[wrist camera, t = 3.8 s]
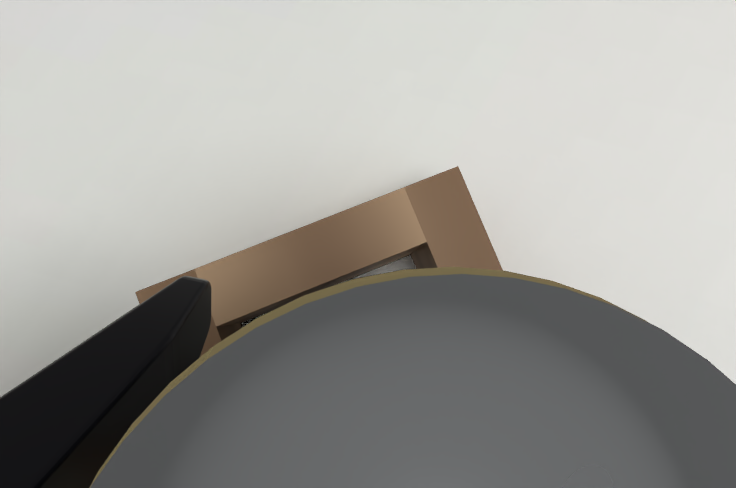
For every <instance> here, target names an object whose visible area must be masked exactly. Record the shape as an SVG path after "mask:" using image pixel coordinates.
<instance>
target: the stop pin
mask: <svg viewBox="0 0 736 488" xmlns="http://www.w3.org/2000/svg"><path fill="white" fill-rule="evenodd" d="M89 488H736V384H734V383H733V382H732V381H731V380H730V379H729V378H727V377H726V376H725V375H724V374H723V373H722V372H721V371H719V370H718V369H717V368H716V367H715V366H714V365H713V364H711V363H710V362H709V361H708V360H707V359H705V358H704V357H702V356H701V355H699V354H698V353H696V352H695V351H693V350H692V349H690V348H689V347H687V346H686V345H684V344H683V343H681V342H680V341H678V340H677V339H676V338H674V337H673V336H671V335H670V334H668V333H667V332H665V331H664V330H662V329H660V328H658V327H656V326H654V325H652V324H650V323H648V322H647V321H645V320H643V319H641V318H639V317H637V316H635V315H633V314H631V313H629V312H627V311H626V310H624V309H622V308H620V307H618V306H616V305H614V304H612V303H610V302H608V301H606V300H604V299H602V298H600V297H597V296H594V295H591V294H588V293H585V292H582V291H580V290H577V289H574V288H571V287H568V286H565V285H563V284H560V283H557V282H554V281H550V280H545V279H541V278H536V277H531V276H527V275H522V274H517V273H512V272H508V271H501V270H488V269H475V268H462V267H442V268H424V269H406V270H399V271H394V272H388V273H383V274H378V275H373V276H367V277H362V278H357V279H352V280H349V281H346V282H343V283H340V284H337V285H334V286H331V287H328V288H325V289H322V290H319V291H316V292H313V293H310V294H307V295H304V296H302V297H300V298H298V299H296V300H293V301H291V302H289V303H287V304H285V305H283V306H281V307H279V308H277V309H275V310H273V311H271V312H268V313H266V314H264V315H262V316H260V317H258V318H256V319H255V320H253V321H252V322H250V323H249V324H247V325H245V326H244V327H242V328H241V329H239V330H238V331H236V332H235V333H233V334H232V335H230V336H229V337H227V338H225V339H224V340H222V341H221V342H219V343H218V344H216V345H215V346H213V347H212V348H210V349H209V350H208V351H207V352H206V353H205V354H203V355H202V356H201V357H200V358H199V359H197V360H196V361H195V362H194V363H193V364H192V365H190V366H189V367H188V368H187V369H186V370H184V371H183V372H182V373H181V374H180V375H179V376H177V377H176V378H175V379H174V380H173V381H171V382H170V383H169V384H168V385H167V387H166V388H165V389H164V390H163V391H162V392H161V393H160V394H159V395H158V396H157V397H156V398H155V400H154V401H153V402H152V403H151V404H150V405H149V406H148V407H147V408H146V409H145V410H144V412H143V413H142V414H141V415H140V416H139V417H138V418H137V419H136V420H135V421H134V422H133V423H132V425H131V426H130V427H129V429H128V430H127V432H126V433H125V434H124V436H123V437H122V439H121V440H120V441H119V443H118V444H117V446H116V447H115V448H114V450H113V451H112V453H111V454H110V455H109V457H108V458H107V460H106V461H105V462H104V464H103V465H102V467H101V468H100V469H99V471H98V473H97V474H96V476H95V478H94V480H93V482H92V484H91V485H90V487H89Z"/></svg>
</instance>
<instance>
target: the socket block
mask: <svg viewBox="0 0 736 488" xmlns="http://www.w3.org/2000/svg"><path fill="white" fill-rule="evenodd" d="M408 255H411V257H412V259H413V261H414V264H415V266H416V269H424V268H442V267H462V268H475V269H488V270H501V271H503V270H502V268H501V265H500V263H499V261H498V258H497V256H496V254H495V251H494V249H493V247H492V244H491V242H490V240H489V237H488V235H487V233H486V230H485V228H484V226H483V223H482V221H481V219H480V216H479V214H478V212H477V209H476V207H475V205H474V202H473V200H472V198H471V195H470V193H469V191H468V188H467V186H466V184H465V181H464V179H463V177H462V174H461V172H460V170H459V167H458V166H457V167H455V168H452V169H450V170H447V171H445V172H442V173H440V174H437V175H434V176H432V177H429V178H427V179H424V180H422V181H419V182H416V183H414V184H411V185H409V186H406V187H404V188H401V189H399V190H396V191H393V192H391V193H388V194H386V195H383V196H381V197H378V198H375V199H373V200H370V201H368V202H365V203H363V204H360V205H358V206H355V207H352V208H350V209H347V210H345V211H342V212H340V213H337V214H334V215H332V216H329V217H327V218H324V219H322V220H319V221H317V222H314V223H311V224H309V225H306V226H304V227H301V228H299V229H296V230H293V231H291V232H288V233H286V234H283V235H281V236H278V237H276V238H273V239H270V240H268V241H265V242H263V243H260V244H258V245H255V246H252V247H250V248H247V249H245V250H242V251H240V252H237V253H234V254H232V255H229V256H227V257H224V258H222V259H219V260H217V261H214V262H211V263H209V264H206V265H204V266H201V267H199V268H196V269H193V270H191V271H188V272H186V273H183V274H181V275H178V276H176V277H173V278H170V279H168V280H165V281H163V282H160V283H158V284H155V285H152V286H150V287H147V288H145V289H142V290H140V291H137V292H136V295H137V298H138V301H139V303H140V304H141V303H142V302H144V301H145V300H147V299H148V298H150V297H151V296H153V295H154V294H156V293H157V292H159V291H160V290H162V289H163V288H165V287H166V286H168V285H169V284H171V283H172V282H174V281H175V280H177V279H178V278H180V277H183V276H191V277H195V278H200V279H205V280H208V281H209V282H210V284H211V323H210V328H209V332H208V335H207V337H206V340H205V343H204V346H203V349H202V352H201V354H200V357H201V356H202V355H203V354H205V353H206V352H207V351H208V350H209V349H210V348H212V347H213V346H215V345H216V344H218V343H219V342H221V341H222V340H224V339H225V338H227V337H229V336H230V335H232V334H233V333H235V332H236V331H238V330H239V329H241V328H242V327H241V324H240V323H242V322H244V321H247V320H249V319H252V318H254V317H257V316H259V315H262V314H264V313H267V312H269V311H272V310H274V309H276V308H279V307H281V306H283V305H285V304H287V303H289V302H291V301H293V300H296V299H298V298H300V297H302V296H304V295H307V294H310V293H313V292H316V291H319V290H322V289H325V288H328V287H331V286H334V285H336V284H339V283H341V282H344V281H346V280H348V279H351V278H353V277H356V276H358V275H361V274H363V273H366V272H368V271H371V270H373V269H376V268H378V267H381V266H383V265H386V264H388V263H391V262H393V261H396V260H398V259H401V258H403V257H406V256H408ZM200 357H199V358H200Z"/></svg>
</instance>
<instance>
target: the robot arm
mask: <svg viewBox="0 0 736 488" xmlns="http://www.w3.org/2000/svg"><path fill="white" fill-rule="evenodd" d="M210 323H211V284H210V282H209V281H208V280H205V279H200V278H195V277H191V276H183V277H180V278H178V279H177V280H175V281H174V282H172V283H171V284H169V285H168V286H166V287H165V288H163V289H162V290H160V291H159V292H157V293H156V294H154V295H153V296H151V297H150V298H148V299H147V300H145V301H144V302H142V303H141V304H139V305H138V306H137V307H135V308H134V309H132V310H131V311H129V312H128V313H126V314H125V315H123V316H122V317H120V318H119V319H117V320H116V321H114V322H113V323H111V324H110V325H108V326H107V327H105V328H104V329H102V330H101V331H99V332H98V333H96V334H95V335H93V336H92V337H90V338H89V339H87V340H86V341H84V342H83V343H81V344H80V345H78V346H77V347H75V348H74V349H72V350H71V351H69V352H68V353H66V354H65V355H63V356H62V357H60V358H59V359H57V360H56V361H54V362H53V363H51V364H50V365H48V366H47V367H45V368H44V369H42V370H41V371H39V372H38V373H36V374H35V375H33V376H32V377H30V378H29V379H27V380H26V381H24V382H23V383H21V384H20V385H18V386H17V387H15V388H14V389H12V390H11V391H9V392H8V393H6V394H5V395H3V396H2V397H0V488H89V487H90V485H91V484H92V482H93V480H94V478H95V476H96V474H97V473H98V471H99V469H100V468H101V467H102V465H103V464H104V462H105V461H106V460H107V458H108V457H109V455H110V454H111V453H112V451H113V450H114V448H115V447H116V446H117V444H118V443H119V441H120V440H121V439H122V437H123V436H124V434H125V433H126V432H127V430H128V429H129V427H130V426H131V425H132V423H133V422H134V421H135V420H136V419H137V418H138V417H139V416H140V415H141V414H142V413H143V412H144V410H145V409H146V408H147V407H148V406H149V405H150V404H151V403H152V402H153V401H154V400H155V398H156V397H157V396H158V395H159V394H160V393H161V392H162V391H163V390H164V389H165V388H166V387H167V385H168V384H169V383H170V382H171V381H173V380H174V379H175V378H176V377H177V376H179V375H180V374H181V373H182V372H183V371H184V370H186V369H187V368H188V367H189V366H190V365H192V364H193V363H194V362H195V361H196V360H197V359H199V357H200V354H201V352H202V349H203V346H204V343H205V340H206V337H207V335H208V332H209V328H210Z"/></svg>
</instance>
